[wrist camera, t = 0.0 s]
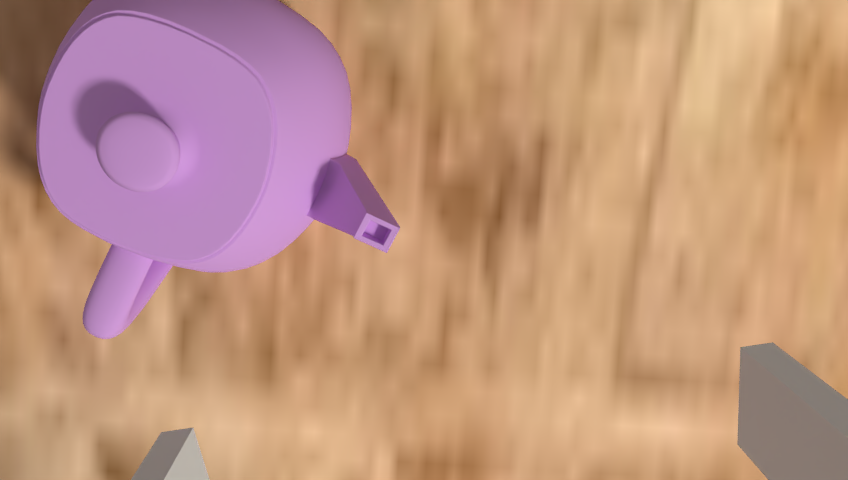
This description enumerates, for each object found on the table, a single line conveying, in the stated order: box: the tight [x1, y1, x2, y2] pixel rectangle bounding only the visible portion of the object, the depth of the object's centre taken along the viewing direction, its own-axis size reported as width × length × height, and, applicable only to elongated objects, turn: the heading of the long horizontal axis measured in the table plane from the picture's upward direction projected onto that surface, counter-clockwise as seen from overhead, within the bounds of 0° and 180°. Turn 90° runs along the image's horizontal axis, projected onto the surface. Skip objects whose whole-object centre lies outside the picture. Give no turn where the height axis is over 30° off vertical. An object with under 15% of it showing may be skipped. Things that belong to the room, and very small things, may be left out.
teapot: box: [36, 0, 400, 339], centre depth 32 cm, size 20×20×15 cm
